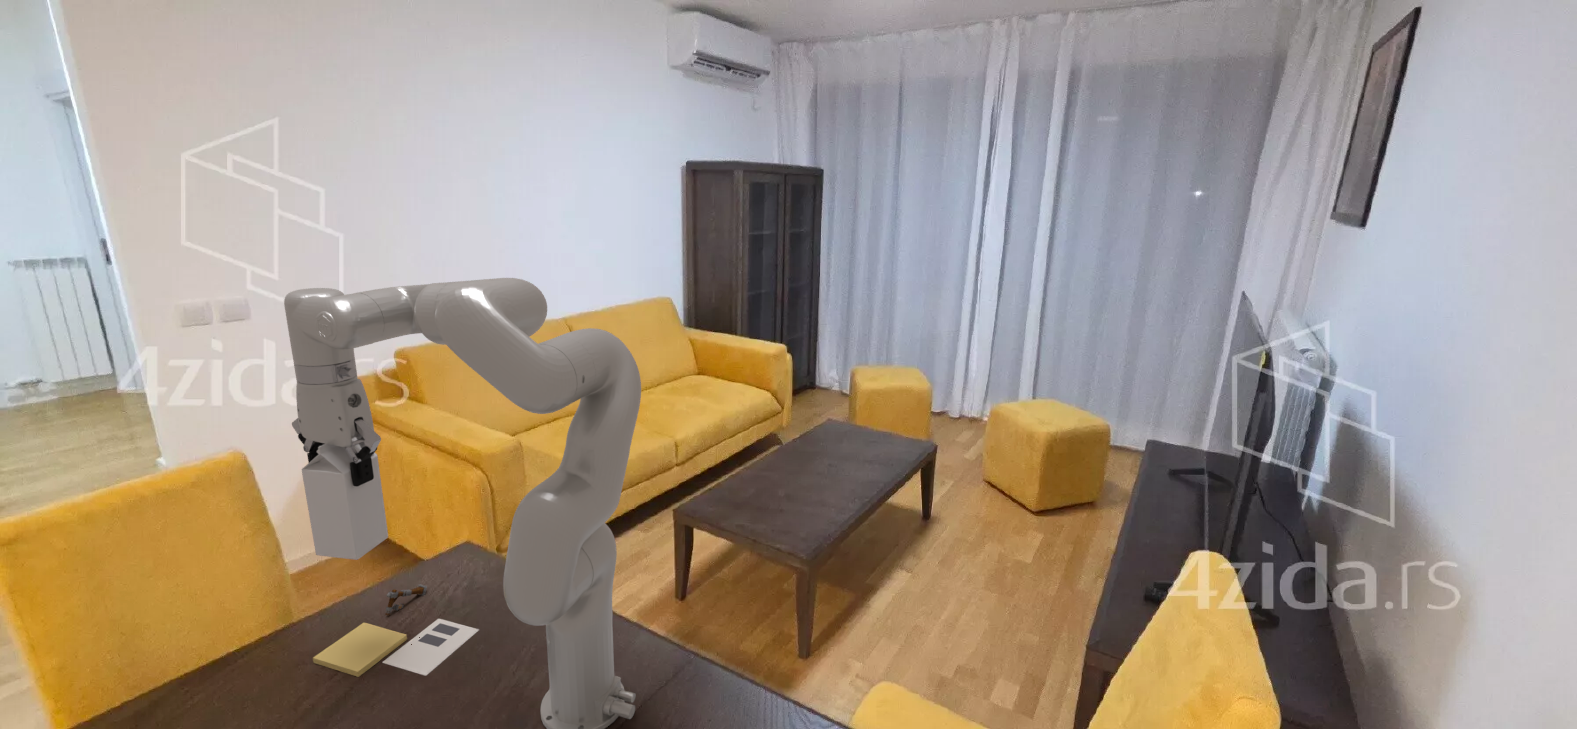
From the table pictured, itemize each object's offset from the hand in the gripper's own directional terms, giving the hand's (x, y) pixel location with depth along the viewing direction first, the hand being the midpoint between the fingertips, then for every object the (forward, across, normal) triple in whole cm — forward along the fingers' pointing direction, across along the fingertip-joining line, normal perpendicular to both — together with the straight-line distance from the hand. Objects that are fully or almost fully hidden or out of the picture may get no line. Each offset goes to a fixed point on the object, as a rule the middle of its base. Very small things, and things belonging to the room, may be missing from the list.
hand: (342, 477), depth 103 cm
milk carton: (+13, 0, 0) cm, 13 cm away
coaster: (+32, +1, +1) cm, 32 cm away
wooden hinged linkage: (+33, +4, -12) cm, 35 cm away
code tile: (+32, -9, -4) cm, 34 cm away
